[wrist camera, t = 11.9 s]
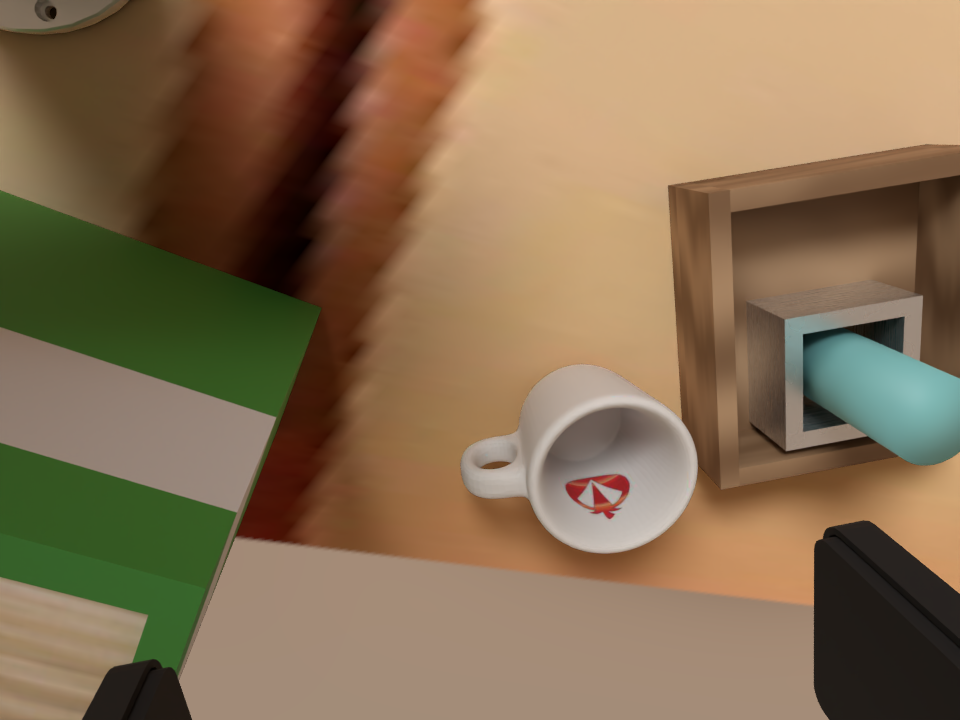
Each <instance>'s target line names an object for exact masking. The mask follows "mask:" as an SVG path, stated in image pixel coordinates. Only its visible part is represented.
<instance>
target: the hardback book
mask: <svg viewBox="0 0 960 720" xmlns="http://www.w3.org/2000/svg"><path fill="white" fill-rule="evenodd" d="M320 311H321V307H318V306H315V305H312V304H310V303H307V302H304V301H301V300H299V299H296V298H293V297H291V296H288V295H285V294H282V293H280V292H277V291H274V290H271V289H269V288H266V287H263V286H260V285H258V284H255V283H252V282H249V281H247V280H244V279H241V278H239V277H236V276H233V275H230V274H228V273H225V272H222V271H219V270H217V269H214V268H211V267H208V266H206V265H203V264H200V263H198V262H195V261H192V260H189V259H187V258H184V257H181V256H178V255H176V254H173V253H170V252H167V251H165V250H162V249H159V248H156V247H154V246H151V245H148V244H146V243H143V242H140V241H137V240H135V239H132V238H129V237H126V236H124V235H121V234H118V233H115V232H113V231H110V230H107V229H104V228H102V227H99V226H96V225H94V224H91V223H88V222H85V221H83V220H80V219H77V218H74V217H72V216H69V215H66V214H63V213H61V212H58V211H55V210H53V209H50V208H47V207H44V206H42V205H39V204H36V203H33V202H31V201H28V200H25V199H22V198H20V197H17V196H14V195H11V194H9V193H6V192H3V191H1V190H0V720H82V718H83V717H84V715H85V713H86V711H87V709H88V707H89V705H90V703H91V701H92V700H93V698H94V696H95V694H96V692H97V690H98V688H99V686H100V684H101V683H102V681H103V679H104V677H105V675H106V674H107V672H108V671H109V669H111V668H113V667H114V666H119V665H125V664H130V663H135V662H140V661H145V660H150V659H156V660H158V661H159V662H160V663H161V665H162V667H163V668H166V667H172V668H173V669H174V670H175V672H176V675H177V677H178V680H179V679H180V676H181V674H182V671H183V668H184V666H185V664H186V661H187V659H188V656H189V653H190V651H191V648H192V646H193V643H194V641H195V638H196V635H197V633H198V631H199V628H200V626H201V622H202V620H203V618H204V615H205V613H206V610H207V607H208V605H209V602H210V600H211V598H212V595H213V592H214V590H215V587H216V585H217V582H218V580H219V577H220V574H221V572H222V570H223V567H224V564H225V562H226V559H227V557H228V554H229V552H230V549H231V547H232V544H233V542H234V539H235V536H236V534H237V531H238V529H239V526H240V524H241V521H242V519H243V516H244V514H245V511H246V508H247V506H248V503H249V501H250V498H251V496H252V493H253V491H254V488H255V486H256V483H257V480H258V478H259V475H260V473H261V470H262V468H263V465H264V463H265V460H266V458H267V455H268V452H269V450H270V447H271V445H272V442H273V440H274V437H275V435H276V432H277V429H278V426H279V424H280V421H281V418H282V415H283V413H284V410H285V407H286V405H287V402H288V399H289V396H290V394H291V391H292V388H293V385H294V383H295V380H296V377H297V374H298V372H299V369H300V366H301V363H302V361H303V358H304V355H305V352H306V350H307V347H308V344H309V341H310V339H311V336H312V333H313V330H314V328H315V325H316V322H317V319H318V317H319V314H320Z"/></svg>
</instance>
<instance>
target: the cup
mask: <svg viewBox="0 0 960 720" xmlns="http://www.w3.org/2000/svg"><path fill="white" fill-rule="evenodd" d="M499 461H503V462H510V463H511V464H509V465H507V466H505V467H501V468H497V469H481V467H482V466H484V465H486V464H488V463H492V462H499ZM460 465H461V475H462V479H463V482H464V485H465V486H466V488H467V489H468V490H469V492H471V493H472V494H474V495H476V496H478V497H482V498H487V499H500V498H510V497H526V498H527V499H528V500H529V501H530V503H531V506H532V508H533V510H534V513H535V514H536V516H537V518H538V520H539V521H540V522H541V524H542V525H543V526H544V527H545V529H546V530H547V531H548V532H549V533H550V534H551V535H553V536H554V537H555V538H556V539H558V540H559V541H561V542H562V543H564V544H566V545H568V546H570V547H572V548H575V549H578V550H582V551H585V552H591V553H601V554H609V553H619V552H624V551H628V550H631V549H635V548H637V547H640V546H642V545H645V544H647V543H649V542H650V541H652V540H654V539H655V538H657V537H659V536H660V535H661V534H663V533H664V532H665V531H666V530H668V529H669V528H670V527H671V526H672V525H673V524H674V523H675V522H676V520H677V519H678V518H679V517H680V516H681V514H682V513H683V511H684V510H685V508H686V507H687V505H688V503H689V501H690V499H691V497H692V494H693V491H694V488H695V484H696V480H697V472H698V459H697V452H696V448H695V445H694V442H693V439H692V437H691V434H690V433H689V431H688V429H687V428H686V426H685V425H684V423H683V422H682V421H681V419H680V418H679V417H678V416H677V415H676V414H675V413H674V412H672V411H671V410H670V409H669V408H668V407H666V406H665V405H663V404H662V403H660V402H659V401H657V400H656V399H654V398H653V397H651V396H650V395H648V394H647V393H645V392H644V391H642V390H641V389H639V388H638V387H636V386H635V385H633V384H632V383H630V382H629V381H627V380H626V379H624V378H623V377H621V376H620V375H618V374H616V373H615V372H613V371H611V370H608V369H606V368H603V367H600V366H595V365H588V364H577V365H570V366H566V367H563V368H560V369H557V370H555V371H553V372H551V373H549V374H548V375H546V376H545V377H544V378H542V379H541V380H540V381H539V382H538V383H537V384H536V385H535V386H534V387H533V388H532V390H531V391H530V392H529V394H528V396H527V397H526V399H525V401H524V404H523V406H522V409H521V413H520V418H519V426H518V429H517V431H516V432H514V433H512V434H509V435H504V436H497V437H491V438H487V439H483V440H480V441H477V442H475V443H473V444H472V445H470V446H469V447H468V448H467V449H466V450H465V451H464V453H463V455H462V458H461V463H460Z"/></svg>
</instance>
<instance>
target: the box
mask: <svg viewBox="0 0 960 720" xmlns="http://www.w3.org/2000/svg"><path fill="white" fill-rule="evenodd" d="M668 190H669V207H670V223H671V240H672V257H673V274H674V291H675V307H676V324H677V341H678V358H679V375H680V391H681V408H682V422H683V423H684V425H685V426H686V428H687V429H688V431H689V433H690V434H691V437H692V439H693V442H694V445H695V448H696V452H697V459H698V465H699V466H700V467H701V468H702V469H703V471H704V472H705V473H706V474H707V475H708V476H709V477H710V478H711V479H712V480H713V481H714V483H715V484H716V485H717V486H718V487H719V488H720V489H721V490H722V489H727V488H733V487H738V486H743V485H749V484H754V483H759V482H765V481H770V480H775V479H781V478H786V477H791V476H797V475H802V474H807V473H813V472H818V471H823V470H829V469H834V468H839V467H844V466H850V465H855V464H860V463H866V462H871V461H876V460H882V459H887V458H892V457H898V455H896V454H895V453H893V452H892V451H890V450H889V449H887V448H885V447H884V446H882V445H881V444H879V443H878V442H876V441H875V440H873V439H871V438H870V437H868V436H865V437H860V438H855V439H849V440H844V441H838V442H833V443H828V444H822V445H817V446H811V447H806V448H801V449H795V450H790V451H785V450H784V449H783V448H782V447H780V446H779V445H778V444H777V443H775V442H774V441H773V440H772V439H771V438H769V437H768V436H767V435H766V434H764V433H763V432H762V431H761V430H759V429H758V428H757V427H756V426H755V425H753V424H752V423H751V422H750V421H749V385H748V348H747V312H746V301H749V300H755V299H761V298H767V297H773V296H778V295H784V294H790V293H796V292H802V291H808V290H813V289H819V288H825V287H831V286H837V285H843V284H849V283H854V282H860V281H866V280H874V281H878V282H881V283H884V284H887V285H891V286H894V287H897V288H900V289H904V290H907V291H910V292H913V293H917V294H920V295H923V306H922V326H921V345H920V361H921V362H923V363H925V364H927V365H930V366H932V367H934V368H937V369H939V370H941V371H943V372H946V373H948V374H950V375H953V376H955V377H957V378H960V145H927V144H926V145H920V146H913V147H907V148H901V149H895V150H888V151H882V152H876V153H870V154H863V155H857V156H851V157H844V158H838V159H832V160H826V161H819V162H813V163H807V164H801V165H794V166H788V167H782V168H776V169H769V170H763V171H757V172H750V173H744V174H738V175H732V176H725V177H719V178H713V179H707V180H700V181H694V182H688V183H681V184H675V185H669V186H668ZM854 327H855V325H853V326H847V327H843V328H845V329H847V330H850V331H852V332H854ZM803 397H805V395H803Z"/></svg>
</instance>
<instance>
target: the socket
mask: <svg viewBox="0 0 960 720" xmlns="http://www.w3.org/2000/svg"><path fill="white" fill-rule="evenodd" d="M922 306H923V295H920V294H917V293H913V292H910V291H907V290H904V289H900V288H897V287H894V286H891V285H887V284H884V283H881V282H878V281H874V280H866V281H860V282H854V283H849V284H843V285H837V286H831V287H825V288H819V289H813V290H808V291H802V292H796V293H790V294H784V295H778V296H773V297H767V298H761V299H755V300H749V301H746V312H747V348H748V385H749V421H750V422H751V423H752V424H753V425H755V426H756V427H757V428H758V429H759V430H761V431H762V432H763V433H764V434H766V435H767V436H768V437H769V438H771V439H772V440H773V441H774V442H775V443H777V444H778V445H779V446H780V447H782V448H783V449H784V450H785V451H790V450H795V449H801V448H806V447H811V446H817V445H822V444H828V443H833V442H838V441H844V440H849V439H855V438H860V437H865V436H867V435H865V434H864V433H862V432H861V431H859V430H857V429H856V428H854V427H853V426H851V425H850V424H848V423H847V422H845V421H843V420H842V419H840V418H839V417H837V416H836V415H834V414H833V413H831V412H829V411H828V410H826V409H825V408H823V407H822V406H820V405H819V404H817V403H815V402H814V401H812V400H811V399H809V398H808V397H806V396H805V397H803V334H807V333H813V332H818V331H824V330H830V329H835V328H841V327H847V326H853V325H855V327H854V333H856V334H859V335H861V336H863V337H866V338H868V339H870V340H872V341H875V342H877V343H879V344H882V345H884V346H886V347H888V348H891V349H893V350H895V351H898V352H900V353H902V354H905V355H907V356H909V357H911V358H914V359H916V360H918V361H920V345H921V326H922Z"/></svg>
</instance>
